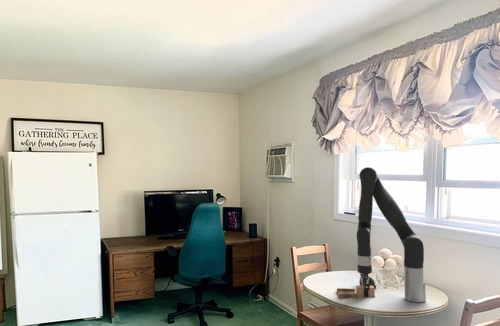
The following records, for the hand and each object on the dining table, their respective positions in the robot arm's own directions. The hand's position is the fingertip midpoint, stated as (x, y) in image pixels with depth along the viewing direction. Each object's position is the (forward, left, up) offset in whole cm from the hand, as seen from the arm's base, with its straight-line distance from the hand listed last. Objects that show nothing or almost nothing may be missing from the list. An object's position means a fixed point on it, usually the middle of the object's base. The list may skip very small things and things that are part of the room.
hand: (365, 295), depth 193 cm
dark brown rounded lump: (-3, -12, -1) cm, 12 cm away
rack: (+10, 0, 0) cm, 10 cm away
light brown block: (0, 0, 0) cm, 0 cm away
